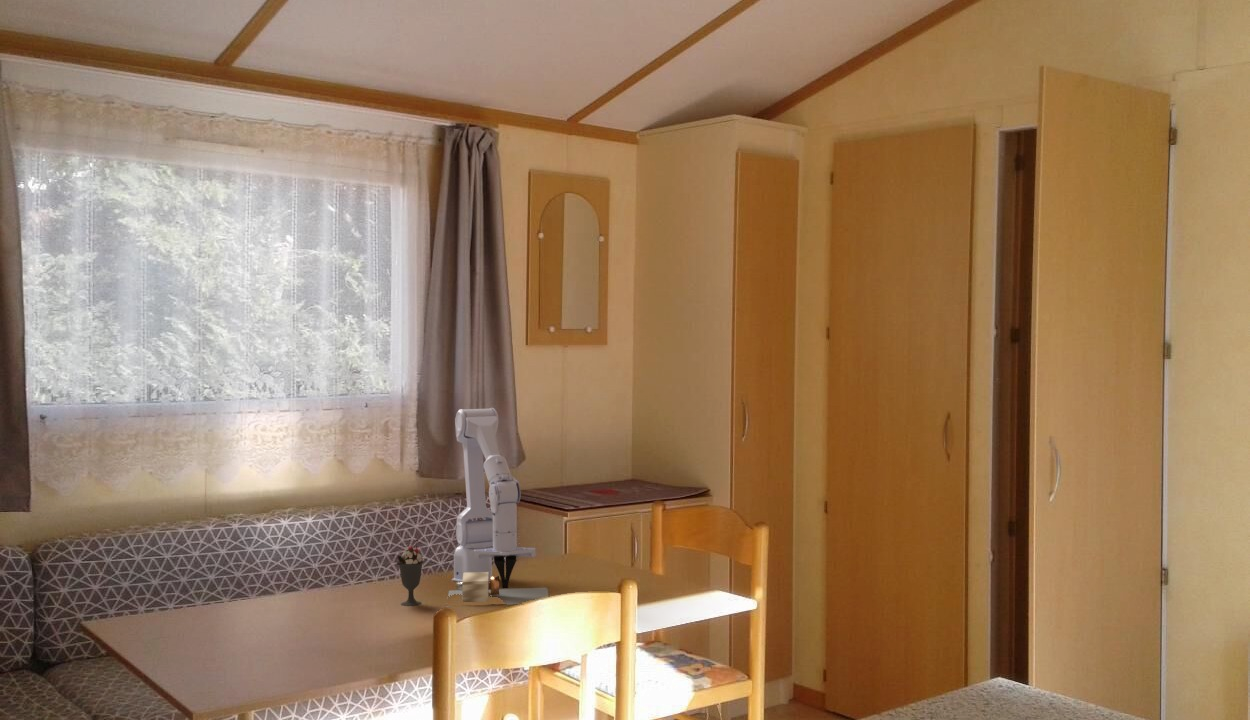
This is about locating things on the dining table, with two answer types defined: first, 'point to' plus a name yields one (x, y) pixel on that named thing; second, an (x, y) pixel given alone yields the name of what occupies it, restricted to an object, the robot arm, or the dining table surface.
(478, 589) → the hitch block
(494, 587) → the pin
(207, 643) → the dining table surface
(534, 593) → the mat
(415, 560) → the sundae
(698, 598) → the dining table surface
